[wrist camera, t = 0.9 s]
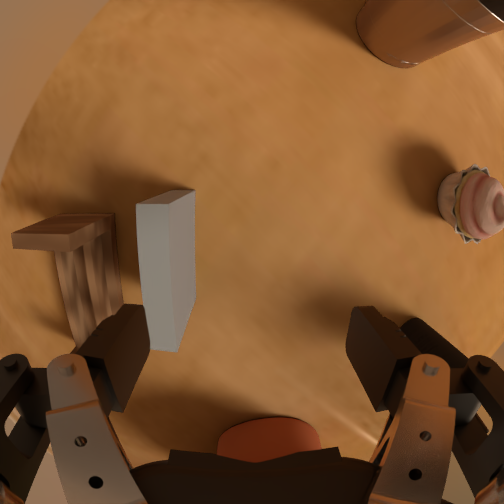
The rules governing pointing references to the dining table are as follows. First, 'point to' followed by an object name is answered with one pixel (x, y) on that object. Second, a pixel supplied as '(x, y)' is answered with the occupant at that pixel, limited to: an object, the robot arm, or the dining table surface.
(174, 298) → the gray rectangular slab
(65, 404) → the robot arm
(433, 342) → the drinking cup
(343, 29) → the dining table surface
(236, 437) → the potted cactus
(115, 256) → the wooden card holder
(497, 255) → the dining table surface
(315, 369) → the dining table surface
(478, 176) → the cupcake
